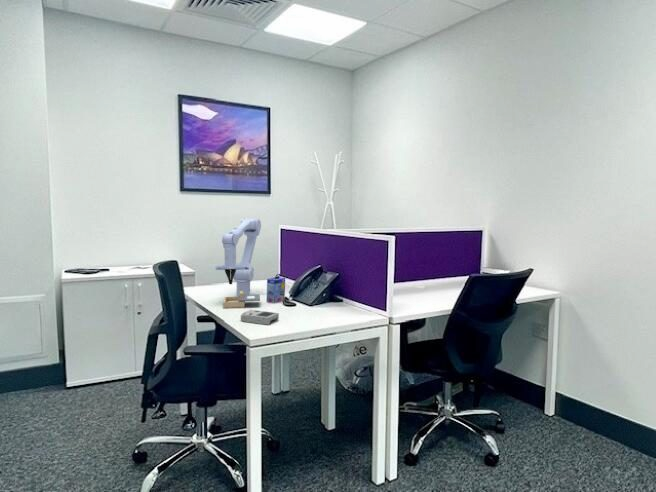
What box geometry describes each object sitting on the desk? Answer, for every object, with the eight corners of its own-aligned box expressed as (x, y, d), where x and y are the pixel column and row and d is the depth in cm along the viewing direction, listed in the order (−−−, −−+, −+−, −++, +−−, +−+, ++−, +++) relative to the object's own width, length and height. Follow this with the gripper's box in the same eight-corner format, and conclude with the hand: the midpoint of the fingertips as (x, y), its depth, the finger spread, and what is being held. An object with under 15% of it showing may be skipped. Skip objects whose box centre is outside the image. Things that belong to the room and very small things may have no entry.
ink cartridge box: (275, 303, 226) (275, 275, 225) (266, 302, 229) (266, 274, 228) (285, 300, 235) (285, 272, 234) (277, 298, 238) (277, 272, 236)
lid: (239, 296, 228) (239, 289, 228) (259, 295, 230) (259, 289, 229) (238, 301, 216) (238, 294, 215) (260, 300, 217) (260, 294, 217)
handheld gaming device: (250, 317, 200) (250, 309, 200) (279, 320, 194) (278, 312, 194) (239, 322, 192) (238, 313, 192) (268, 326, 186) (268, 317, 186)
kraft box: (225, 302, 227) (224, 297, 226) (244, 302, 228) (244, 296, 228) (223, 308, 215) (223, 302, 215) (244, 307, 217) (244, 301, 216)
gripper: (214, 258, 219) (215, 285, 220) (244, 258, 221) (245, 285, 223) (216, 256, 226) (216, 283, 227) (245, 256, 228) (245, 282, 230)
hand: (230, 284), depth 225 cm, fingers closed
